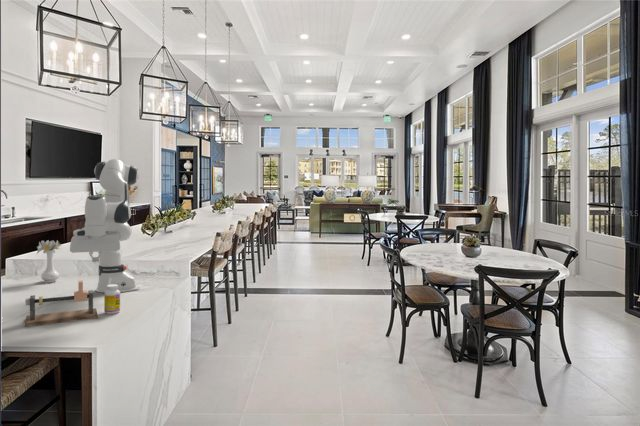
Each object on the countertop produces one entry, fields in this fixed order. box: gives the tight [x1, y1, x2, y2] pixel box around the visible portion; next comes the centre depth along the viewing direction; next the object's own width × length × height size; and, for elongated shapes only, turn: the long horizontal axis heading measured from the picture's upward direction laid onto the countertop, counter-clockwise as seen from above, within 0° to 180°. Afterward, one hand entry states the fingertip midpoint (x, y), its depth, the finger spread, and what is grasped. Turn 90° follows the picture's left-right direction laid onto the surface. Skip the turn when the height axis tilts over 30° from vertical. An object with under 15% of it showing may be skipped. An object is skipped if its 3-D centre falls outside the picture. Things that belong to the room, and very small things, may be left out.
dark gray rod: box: [25, 293, 89, 307], centre depth 187 cm, size 24×4×4 cm, turn 121°
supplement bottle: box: [103, 284, 121, 315], centre depth 199 cm, size 7×7×13 cm
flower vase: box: [36, 239, 63, 284], centre depth 253 cm, size 13×18×25 cm
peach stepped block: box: [73, 280, 88, 303], centre depth 191 cm, size 5×4×9 cm
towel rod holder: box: [24, 289, 99, 327], centre depth 188 cm, size 27×11×11 cm, turn 121°
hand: (95, 261), depth 193 cm, fingers closed
